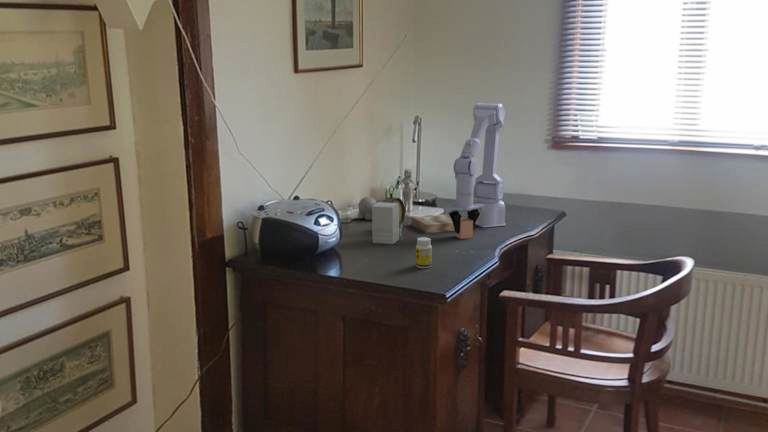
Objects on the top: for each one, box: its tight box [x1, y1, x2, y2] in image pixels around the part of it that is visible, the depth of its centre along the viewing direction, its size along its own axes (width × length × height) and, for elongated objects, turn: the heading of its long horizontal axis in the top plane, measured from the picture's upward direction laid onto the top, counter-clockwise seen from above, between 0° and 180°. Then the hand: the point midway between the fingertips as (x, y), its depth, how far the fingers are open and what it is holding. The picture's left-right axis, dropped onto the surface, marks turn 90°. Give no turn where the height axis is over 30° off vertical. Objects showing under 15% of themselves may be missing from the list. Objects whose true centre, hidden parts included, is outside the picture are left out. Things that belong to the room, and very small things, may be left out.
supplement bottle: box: [415, 236, 433, 269], centre depth 226 cm, size 5×5×8 cm
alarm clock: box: [382, 185, 406, 229], centre depth 268 cm, size 11×5×16 cm, turn 148°
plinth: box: [410, 213, 455, 234], centre depth 274 cm, size 14×14×3 cm
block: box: [454, 217, 474, 240], centre depth 261 cm, size 4×4×6 cm
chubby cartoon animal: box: [357, 196, 384, 221], centre depth 286 cm, size 7×12×8 cm, turn 60°
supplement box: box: [371, 201, 400, 245], centre depth 254 cm, size 7×7×13 cm
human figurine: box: [394, 168, 423, 217], centre depth 293 cm, size 12×4×18 cm, turn 68°
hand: (463, 232), depth 261 cm, fingers closed on block, 4 cm apart
